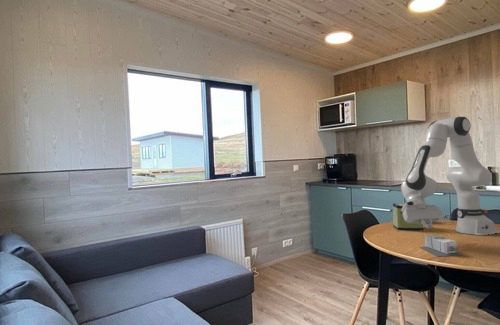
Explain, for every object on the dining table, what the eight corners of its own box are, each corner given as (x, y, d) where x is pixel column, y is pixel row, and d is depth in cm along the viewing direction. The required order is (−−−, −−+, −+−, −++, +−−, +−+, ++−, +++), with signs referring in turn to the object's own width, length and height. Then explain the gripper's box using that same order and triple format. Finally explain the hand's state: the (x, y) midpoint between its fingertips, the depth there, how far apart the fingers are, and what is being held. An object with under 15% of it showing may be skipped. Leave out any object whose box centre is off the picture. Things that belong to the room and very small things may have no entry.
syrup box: (425, 246, 164) (446, 254, 150) (424, 235, 164) (446, 242, 150) (434, 245, 165) (457, 253, 151) (434, 233, 165) (456, 241, 151)
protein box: (423, 230, 198) (423, 205, 198) (397, 230, 201) (396, 205, 201) (418, 226, 209) (417, 203, 208) (392, 226, 211) (392, 203, 211)
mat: (441, 246, 164) (441, 245, 164) (462, 255, 149) (462, 254, 149) (419, 247, 163) (419, 246, 163) (438, 256, 148) (437, 256, 148)
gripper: (434, 208, 176) (446, 230, 166) (398, 210, 175) (408, 231, 165) (439, 201, 171) (452, 223, 162) (402, 203, 170) (413, 225, 161)
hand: (429, 227), depth 163 cm, fingers closed
